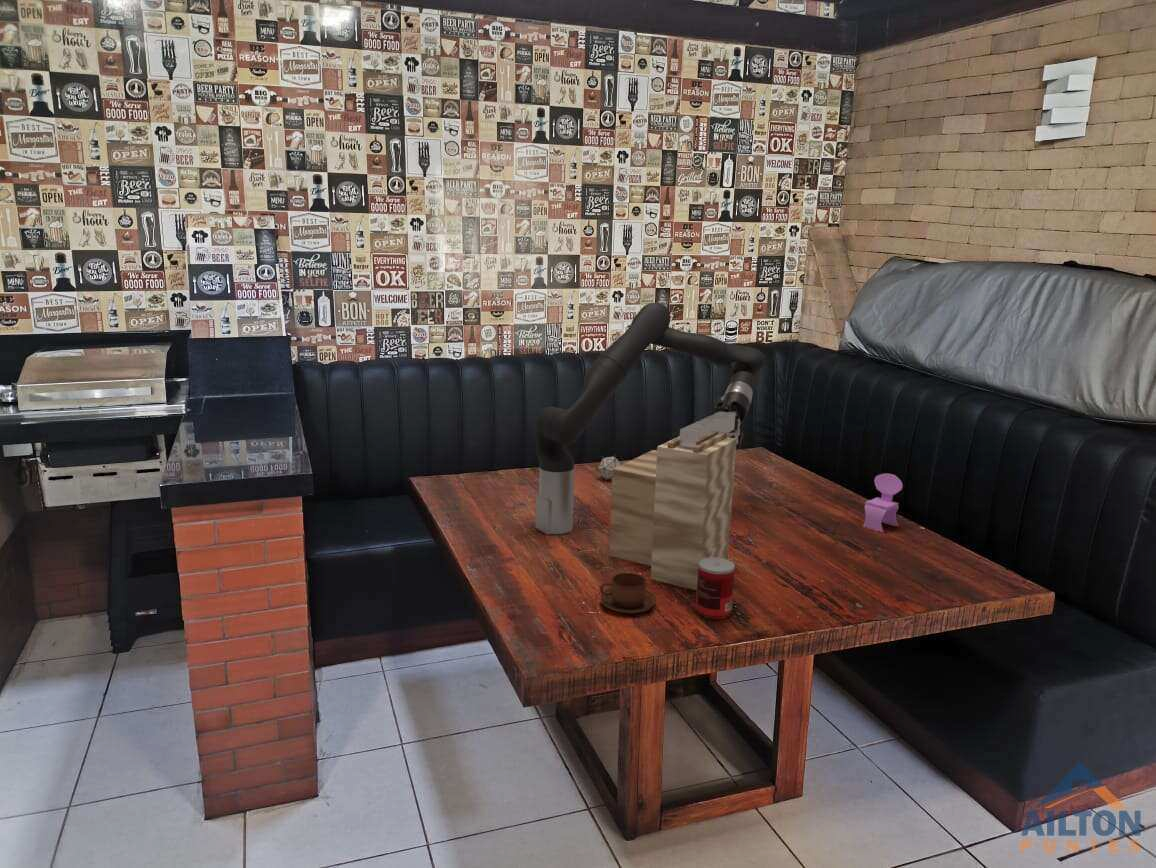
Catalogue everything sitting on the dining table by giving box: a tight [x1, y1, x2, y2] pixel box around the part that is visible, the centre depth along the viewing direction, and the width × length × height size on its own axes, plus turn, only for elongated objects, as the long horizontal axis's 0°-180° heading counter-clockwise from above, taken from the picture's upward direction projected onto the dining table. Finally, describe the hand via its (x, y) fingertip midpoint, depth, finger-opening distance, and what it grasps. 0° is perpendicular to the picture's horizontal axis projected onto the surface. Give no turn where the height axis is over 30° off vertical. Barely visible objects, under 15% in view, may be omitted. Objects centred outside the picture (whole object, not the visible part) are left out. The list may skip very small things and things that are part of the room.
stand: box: [608, 432, 737, 591], centre depth 207 cm, size 30×27×33 cm
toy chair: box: [862, 473, 903, 534], centre depth 236 cm, size 8×9×15 cm
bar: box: [679, 411, 735, 449], centre depth 199 cm, size 24×4×4 cm, turn 149°
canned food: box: [695, 557, 736, 618], centre depth 181 cm, size 8×8×11 cm
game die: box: [594, 454, 623, 482], centre depth 274 cm, size 9×8×10 cm
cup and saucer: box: [599, 572, 657, 614], centre depth 183 cm, size 12×12×6 cm
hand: (723, 439), depth 221 cm, fingers open, 8 cm apart
